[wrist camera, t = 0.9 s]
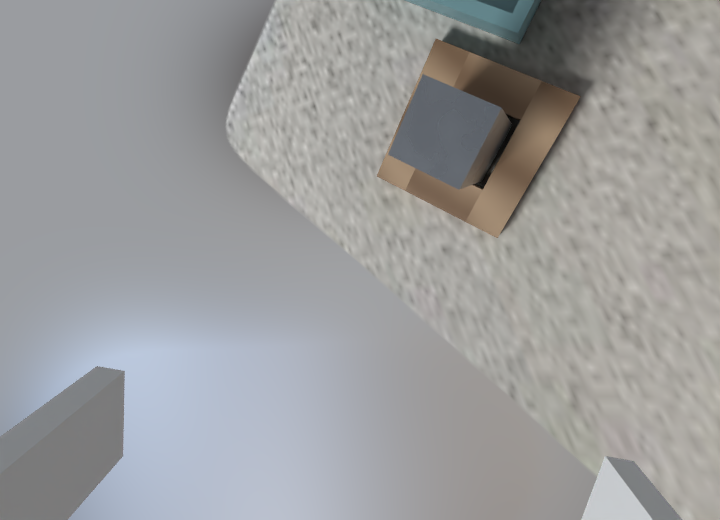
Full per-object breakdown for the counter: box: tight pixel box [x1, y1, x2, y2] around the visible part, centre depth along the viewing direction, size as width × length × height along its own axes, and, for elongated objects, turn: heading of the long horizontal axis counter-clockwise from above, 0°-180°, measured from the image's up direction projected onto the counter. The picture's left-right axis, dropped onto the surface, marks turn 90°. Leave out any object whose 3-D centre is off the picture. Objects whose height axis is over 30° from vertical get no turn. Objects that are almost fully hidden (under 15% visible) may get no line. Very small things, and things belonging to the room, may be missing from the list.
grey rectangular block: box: [388, 74, 512, 190], centre depth 29 cm, size 5×5×12 cm
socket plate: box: [377, 39, 581, 238], centre depth 34 cm, size 12×12×2 cm
